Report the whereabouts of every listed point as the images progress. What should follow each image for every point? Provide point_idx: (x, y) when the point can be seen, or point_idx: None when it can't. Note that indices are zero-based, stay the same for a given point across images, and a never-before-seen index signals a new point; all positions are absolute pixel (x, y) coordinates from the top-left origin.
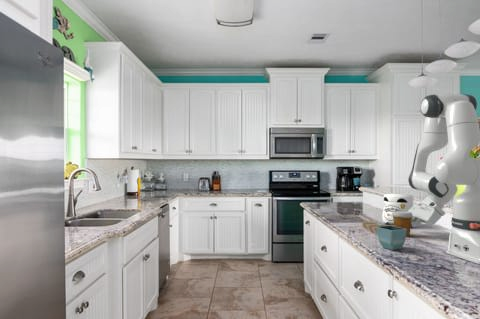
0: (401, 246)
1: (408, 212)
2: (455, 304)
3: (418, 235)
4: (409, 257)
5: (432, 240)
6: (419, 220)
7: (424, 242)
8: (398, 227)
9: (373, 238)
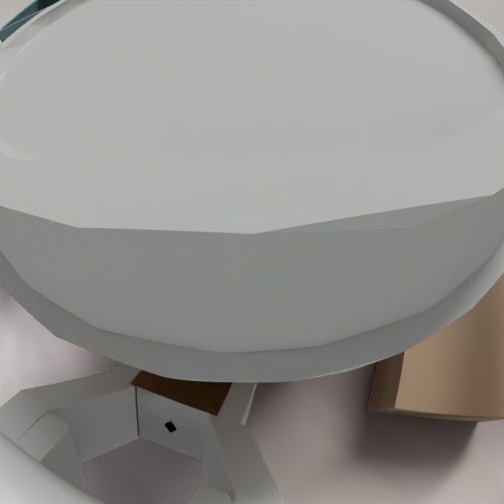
0: None
1: (132, 135)
2: None
3: (198, 478)
4: None
5: (11, 396)
6: (6, 434)
7: None
8: (32, 14)
9: None
